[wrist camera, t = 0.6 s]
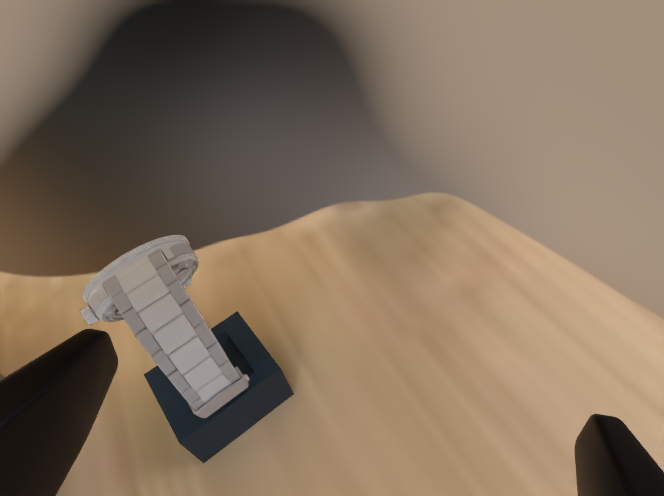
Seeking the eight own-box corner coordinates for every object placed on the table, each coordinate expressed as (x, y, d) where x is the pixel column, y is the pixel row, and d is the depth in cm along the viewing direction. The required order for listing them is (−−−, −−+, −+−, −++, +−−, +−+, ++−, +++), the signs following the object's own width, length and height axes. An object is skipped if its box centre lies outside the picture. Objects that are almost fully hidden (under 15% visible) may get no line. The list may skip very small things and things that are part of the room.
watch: (237, 318, 29) (161, 185, 21) (312, 419, 25) (253, 300, 16) (154, 375, 28) (36, 255, 19) (218, 494, 23) (99, 405, 15)
